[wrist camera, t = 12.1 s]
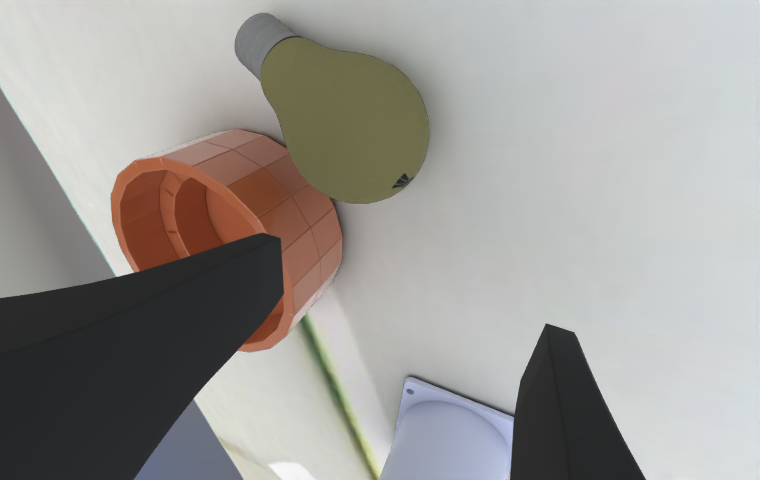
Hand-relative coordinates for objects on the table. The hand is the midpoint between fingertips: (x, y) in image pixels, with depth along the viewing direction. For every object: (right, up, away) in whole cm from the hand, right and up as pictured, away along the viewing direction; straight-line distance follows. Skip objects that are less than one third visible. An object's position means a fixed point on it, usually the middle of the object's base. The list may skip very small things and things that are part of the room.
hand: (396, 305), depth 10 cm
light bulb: (-6, +11, +7) cm, 14 cm away
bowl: (-8, +3, +14) cm, 16 cm away
